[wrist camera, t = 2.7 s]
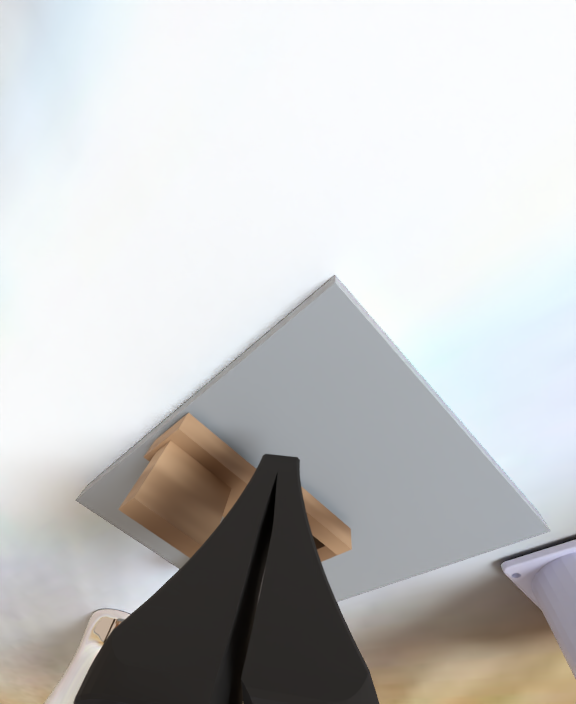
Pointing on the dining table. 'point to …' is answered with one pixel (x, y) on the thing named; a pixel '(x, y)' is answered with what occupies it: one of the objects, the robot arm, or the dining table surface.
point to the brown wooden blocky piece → (207, 492)
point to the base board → (348, 448)
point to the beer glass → (85, 654)
